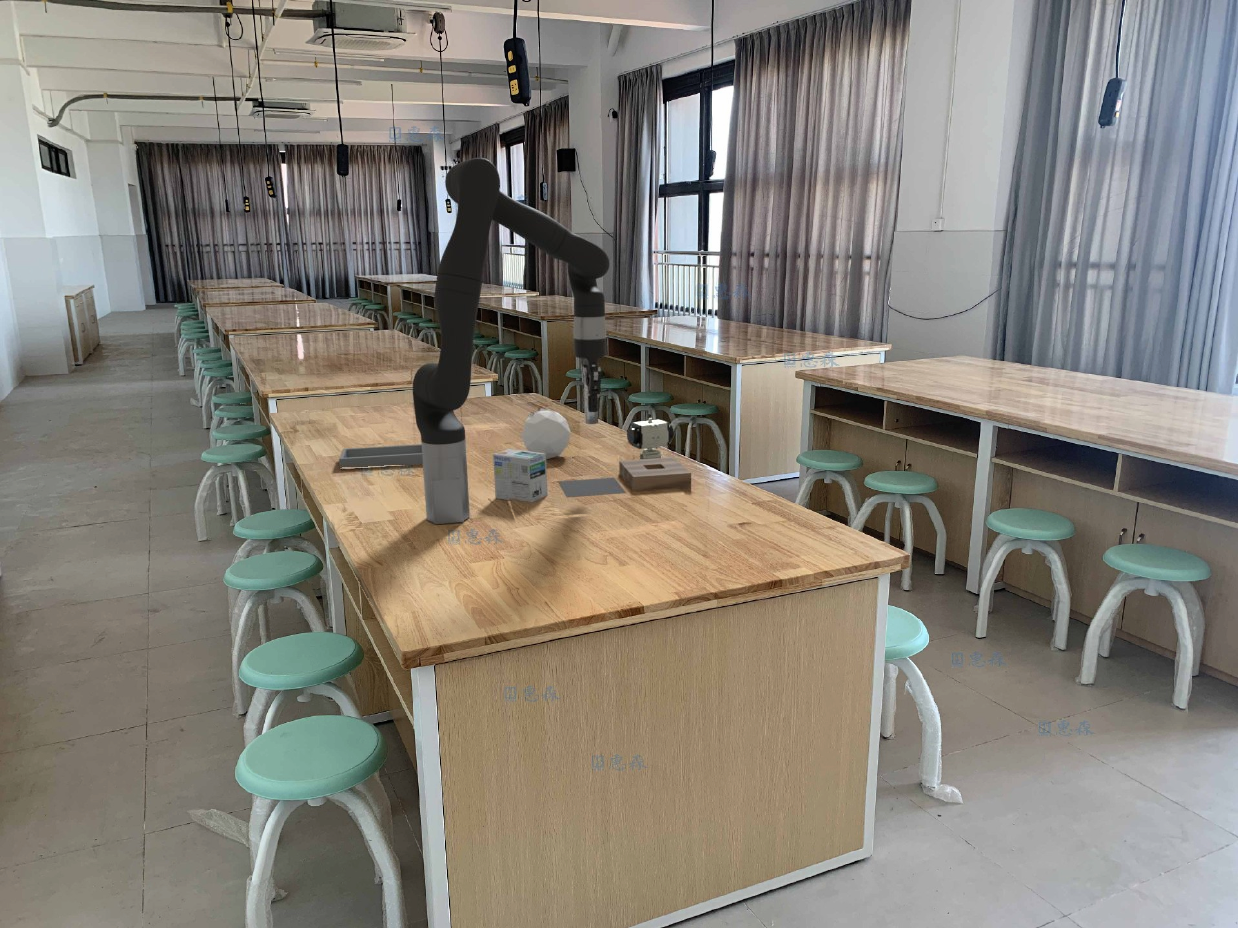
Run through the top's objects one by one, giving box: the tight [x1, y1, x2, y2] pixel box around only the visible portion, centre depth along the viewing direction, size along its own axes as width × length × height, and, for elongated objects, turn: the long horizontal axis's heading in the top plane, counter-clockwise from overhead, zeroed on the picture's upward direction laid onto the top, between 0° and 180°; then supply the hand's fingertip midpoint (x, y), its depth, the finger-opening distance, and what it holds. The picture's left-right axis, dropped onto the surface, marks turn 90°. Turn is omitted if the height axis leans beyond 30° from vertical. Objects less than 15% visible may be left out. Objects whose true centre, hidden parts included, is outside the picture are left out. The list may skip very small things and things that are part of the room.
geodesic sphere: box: [520, 407, 572, 460], centre depth 245 cm, size 14×14×14 cm
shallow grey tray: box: [338, 443, 423, 469], centre depth 244 cm, size 12×23×3 cm, turn 102°
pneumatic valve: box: [626, 417, 675, 459], centre depth 237 cm, size 6×12×12 cm, turn 116°
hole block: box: [618, 456, 692, 492], centre depth 220 cm, size 16×14×4 cm
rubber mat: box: [557, 477, 627, 498], centre depth 215 cm, size 14×14×1 cm
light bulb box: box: [493, 448, 549, 503], centre depth 207 cm, size 11×7×11 cm, turn 59°
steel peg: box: [584, 381, 599, 425], centre depth 210 cm, size 3×3×10 cm
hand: (591, 410), depth 210 cm, fingers closed on steel peg, 3 cm apart
